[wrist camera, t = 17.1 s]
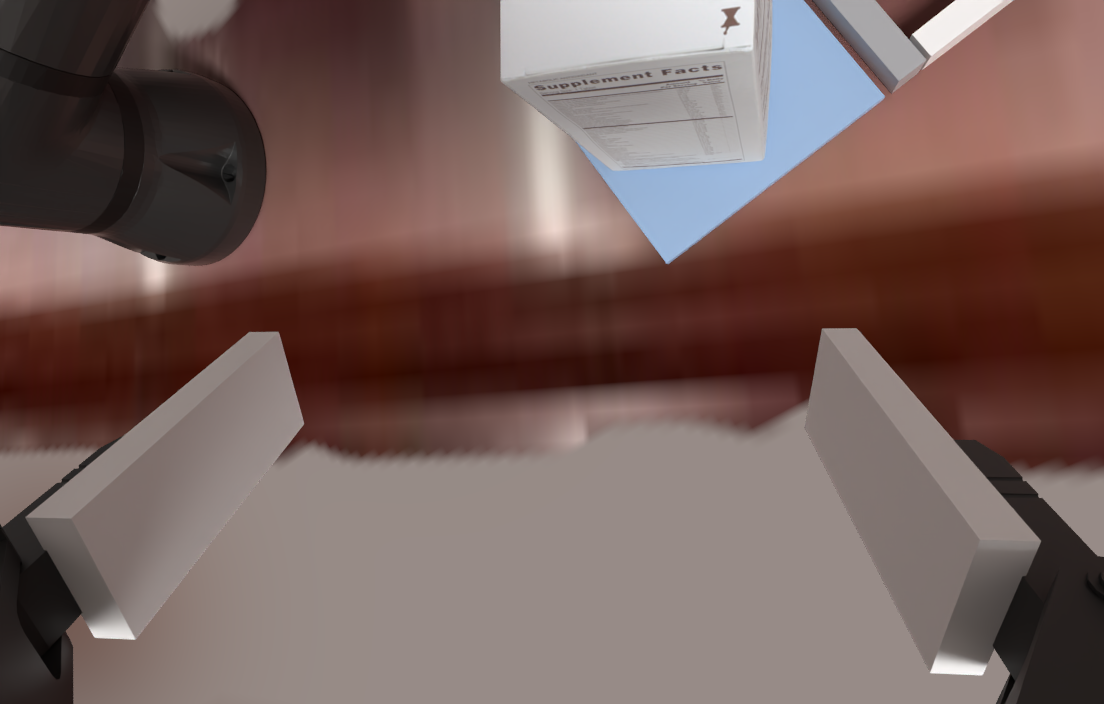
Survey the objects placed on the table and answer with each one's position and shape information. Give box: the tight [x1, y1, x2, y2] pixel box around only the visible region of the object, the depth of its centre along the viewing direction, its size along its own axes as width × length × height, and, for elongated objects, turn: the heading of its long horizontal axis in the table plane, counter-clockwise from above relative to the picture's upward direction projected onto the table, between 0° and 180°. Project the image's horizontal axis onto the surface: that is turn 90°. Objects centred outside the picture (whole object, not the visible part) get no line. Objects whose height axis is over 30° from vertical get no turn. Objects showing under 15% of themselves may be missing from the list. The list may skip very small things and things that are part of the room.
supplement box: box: [500, 0, 772, 171], centre depth 28 cm, size 10×9×17 cm
